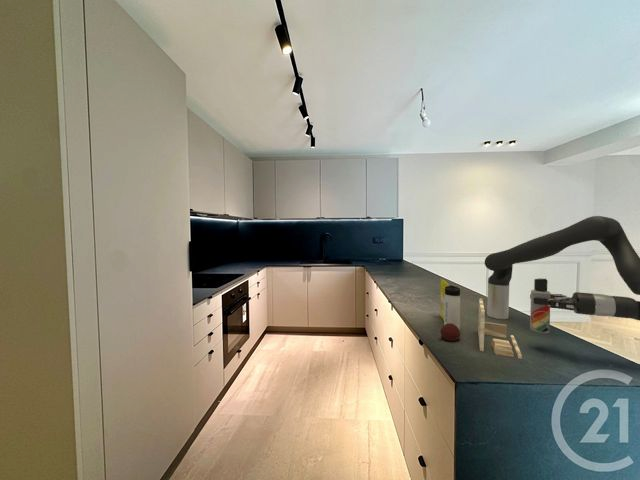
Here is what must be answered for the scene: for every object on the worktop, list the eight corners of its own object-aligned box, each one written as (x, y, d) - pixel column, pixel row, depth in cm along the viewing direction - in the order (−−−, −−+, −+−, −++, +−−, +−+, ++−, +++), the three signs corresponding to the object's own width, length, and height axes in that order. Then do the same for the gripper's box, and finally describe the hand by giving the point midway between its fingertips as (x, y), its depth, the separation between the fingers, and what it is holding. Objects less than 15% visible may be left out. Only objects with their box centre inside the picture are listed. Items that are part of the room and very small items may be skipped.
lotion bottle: (544, 334, 97) (546, 280, 96) (526, 329, 102) (528, 277, 101) (552, 331, 100) (554, 278, 99) (534, 326, 105) (535, 276, 104)
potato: (437, 341, 110) (437, 324, 109) (443, 335, 116) (444, 319, 116) (456, 346, 105) (457, 329, 104) (462, 339, 111) (462, 323, 111)
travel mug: (458, 328, 123) (459, 285, 122) (460, 334, 117) (461, 289, 116) (443, 327, 125) (444, 284, 124) (444, 332, 119) (445, 288, 118)
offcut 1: (492, 342, 102) (492, 338, 102) (508, 345, 100) (508, 340, 100) (495, 349, 97) (495, 344, 97) (511, 352, 95) (511, 347, 95)
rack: (478, 334, 117) (479, 298, 116) (513, 340, 110) (514, 302, 110) (479, 353, 99) (481, 310, 99) (521, 361, 93) (523, 316, 93)
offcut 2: (491, 347, 102) (491, 342, 102) (508, 349, 100) (508, 344, 100) (495, 354, 97) (495, 350, 96) (513, 357, 95) (513, 352, 94)
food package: (449, 326, 126) (450, 284, 125) (446, 326, 126) (447, 284, 125) (441, 315, 141) (442, 278, 140) (439, 315, 141) (439, 278, 140)
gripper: (585, 289, 99) (528, 285, 107) (602, 298, 87) (536, 293, 95) (584, 309, 100) (527, 303, 108) (601, 321, 87) (535, 313, 95)
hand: (532, 298), depth 101 cm, fingers closed on lotion bottle, 5 cm apart
